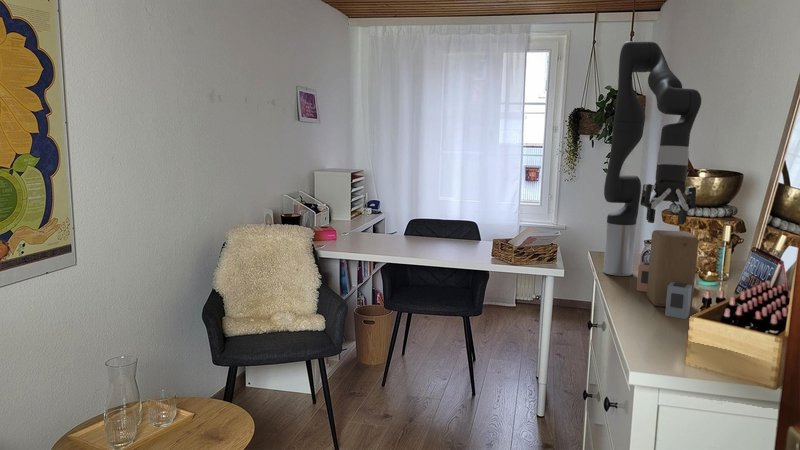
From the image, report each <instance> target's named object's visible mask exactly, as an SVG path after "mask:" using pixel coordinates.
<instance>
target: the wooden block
mask: <svg viewBox="0 0 800 450" xmlns="http://www.w3.org/2000/svg"><path fill="white" fill-rule="evenodd" d="M650 240H651V242H650V251H649V252H650V253H649V274H648V286H647V292H646V297H647V298H648V300H649V301H650V302H651V304H652V305H653V306H655V307H662V308H666V299H667V288H668V285H669V284H670V283H671V282H676V283H682V284H688V285H692V292H691V302H690V309H691V308H692V306H693V299H694V290H695V287H694V281H695V280H696V268H697V259H698V251H699V238H698V237H697V236H696V235H693V234H692V233H691V232H689V231H682V230H680V231H679V230H662V229H656V230H653V231H652V232H651V239H650Z"/></svg>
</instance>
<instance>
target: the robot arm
mask: <svg viewBox="0 0 800 450" xmlns="http://www.w3.org/2000/svg"><path fill="white" fill-rule="evenodd" d="M618 62H619V63H618V80H617V81H618V82H617V83H618V84H617V95H616V96H617V98H616V103H615V110H614V111H615V112H614V117H613V124H612V132H611V133H612V136H611V147H610V152H609V153H610V154H609V159H608V160H609V161H608V166H607V171H606V176H605V179H604V180H605V181H604V186H603V187H604V188H603V195H604V200H605V201H606V202H607V203H609V204H610V203H613V204H624V205H623V206H622V207H621V208H620V209H618V210H616V211H612V212H610V213H608V214H607V217H606V228H605V242H604V243H605V244H604V245H605V246H604V255H603V256H604V259H603V267H602V268H603V269H602V270H603V271H602V272H603V273H604V274H606V275H609V276H610V275H611V276H617V277H629V276H632V275H633V268H634V267H633V266H634V254H635V244H636V234H637V233H636V231H637V219H638V216H639V210H640V209H639V208H640V207H639V206H643V207H645V208H646V221H647V222H648V223H650V224H654V223H655V220H656V219H655V218H656V208H657V206H659V204H660V203H662V202H673V203H675V204H676V206H677V207H678V209H679V210H678V213H677V220H676V221H677V224H678V225H681V226H683V225H685V224H686V223H687V217H688V211H690V210H694V209H696V202H697V201H696V198H697V187H696V186H686V181H687V175H688V174H687V173H688V167H689V166H688V165H689V158H690V157H689V152H690V151H689V149H690V148H689V146H690V139H691V132H692V129H693V127H694V126H693V125H694V123H695V121H696V118H697V116H698V113H699V111H700V108H701V105H702V96H701V94H700V92H699V91H698V90H697V89H695V88H684V87H683V84H682V81H680V79H679V77H678V76H677V75H675V73H674V72H673V71H672V70H671V69H670V66H669V65H668V62H667V60H666V57H665V55H664V53H663V51H662V49H661V47H660V46H659V44H658V43H657V42H654V41H647V40H646V41H644V40H643V41H641V40H640V41H638V40H637V41H636V40H634V41H633V40H632V41H631V40H629V41H625V42H624V43H623V45H622V47H621V49H620V54H619V59H618ZM647 72H648V73H649V74H648V77H647V84H648V87H649V89H650V91H652V93H653V95H654V96H655V99H656V108H657V110H658V111H659V112H660V113H662V114H664V115H669V116H670V115H672V116H680V118H679V119H678V121H677V122H675V123H668V124H665V125H663V126H662V128H661V133H660V141H659V149H658V154H657V161H656V170H655V183H654V184H651V183H644V184H643V185H642V183H641V179H640V178H639V176H638V175H632V174H631V175H629V174H627V175H626V174H621V171H622V167H623V164H624V162H625V161H626V159H627V158H628V156H629V155H630V154H631V153H632V152H633V151H634V149H635V148H636V147H637V145H638V144H639V142H640V141H641V140H642V138H643V136H644V130H645V121H646V113H645V111H644V107H643V106H642V103H641V102H640V100H639V98H638V97H637V94H636V92H635V89H634V84H633V73H647ZM653 191H654V193H655V194H654V195H653V196H651V195H652V192H653ZM683 194H685V197H686V199H685V198H684V196H683Z"/></svg>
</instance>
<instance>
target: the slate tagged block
mask: <svg viewBox="0 0 800 450" xmlns="http://www.w3.org/2000/svg"><path fill="white" fill-rule="evenodd" d="M691 292H692V285H688V284H682V283H676V282H671V283H670V284H669V285H668V288H667V299H666V307H665V312H664V313H665V314H664V316H667V317H671V318H676V319H683V320H686V319H688V318H689V316H690V311H691V308H690V302H691Z"/></svg>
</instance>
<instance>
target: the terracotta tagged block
mask: <svg viewBox="0 0 800 450" xmlns="http://www.w3.org/2000/svg"><path fill="white" fill-rule="evenodd" d="M649 262H650V261H649ZM649 262H647V261H642V262H641V263H639V264H638V268H637V279H636V280H637V281H636V291H639V292H643V293H647V286H648V274H649Z"/></svg>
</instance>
